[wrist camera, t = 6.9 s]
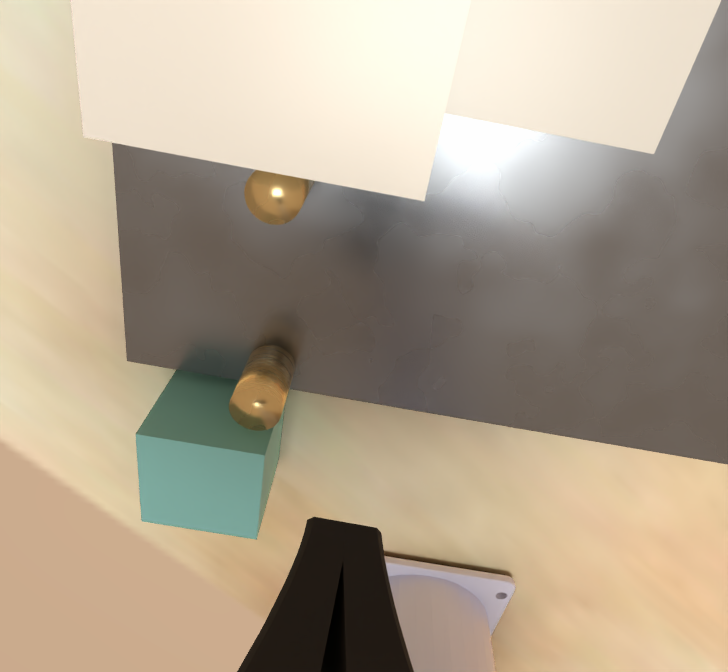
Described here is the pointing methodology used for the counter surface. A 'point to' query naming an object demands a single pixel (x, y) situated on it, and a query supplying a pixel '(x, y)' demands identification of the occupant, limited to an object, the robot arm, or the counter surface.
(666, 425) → the base plate
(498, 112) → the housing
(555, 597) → the counter surface
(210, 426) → the block
